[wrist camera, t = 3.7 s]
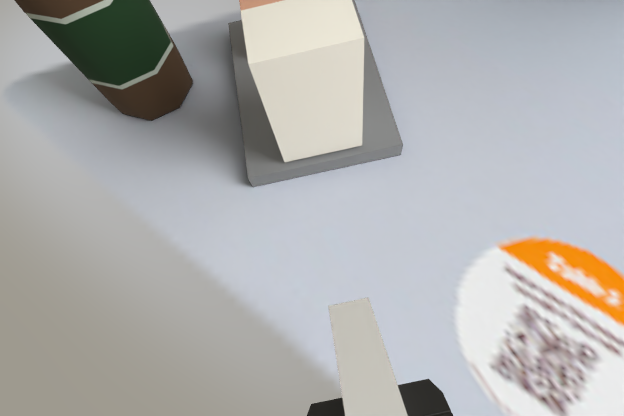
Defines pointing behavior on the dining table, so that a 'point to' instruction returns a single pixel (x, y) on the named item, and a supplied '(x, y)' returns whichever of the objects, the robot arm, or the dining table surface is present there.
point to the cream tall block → (308, 73)
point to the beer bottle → (117, 51)
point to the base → (271, 167)
